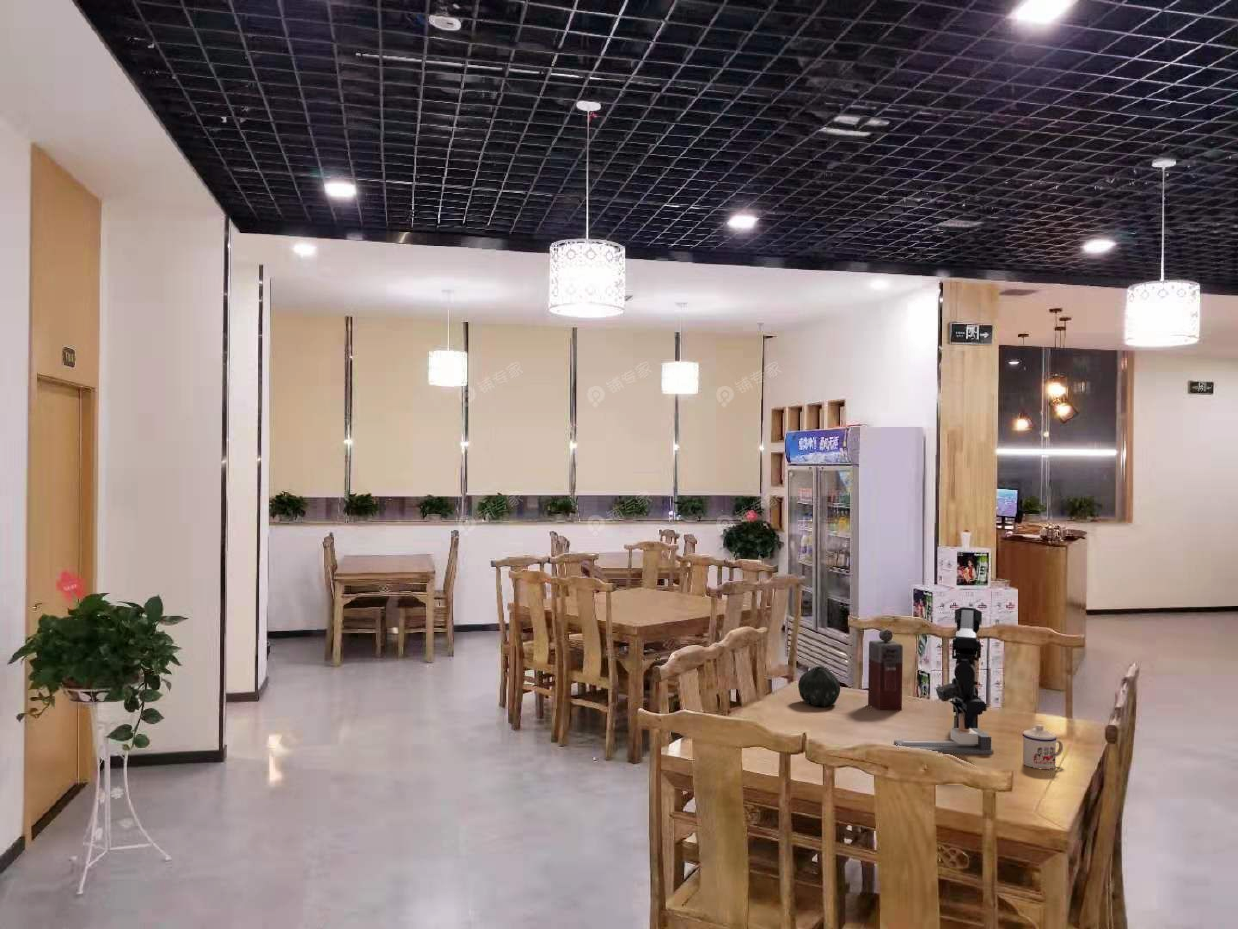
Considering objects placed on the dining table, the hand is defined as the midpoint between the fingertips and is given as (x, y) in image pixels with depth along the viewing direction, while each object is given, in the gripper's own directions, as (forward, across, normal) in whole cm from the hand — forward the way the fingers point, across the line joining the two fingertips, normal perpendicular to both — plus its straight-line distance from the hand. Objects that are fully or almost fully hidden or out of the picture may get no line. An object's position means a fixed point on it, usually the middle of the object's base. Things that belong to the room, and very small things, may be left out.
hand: (964, 727), depth 291 cm
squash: (+7, -55, -31) cm, 64 cm away
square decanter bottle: (+7, -50, -8) cm, 51 cm away
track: (+6, 0, -6) cm, 9 cm away
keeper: (+4, 0, 0) cm, 4 cm away
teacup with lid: (+7, +16, +17) cm, 24 cm away
